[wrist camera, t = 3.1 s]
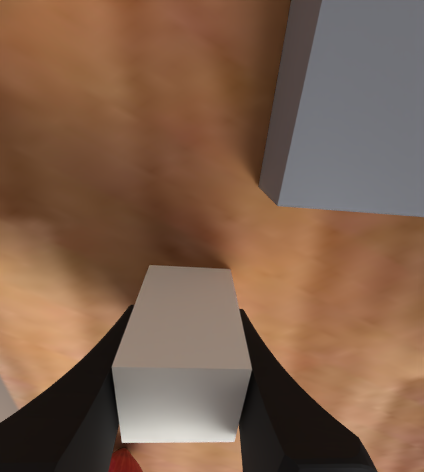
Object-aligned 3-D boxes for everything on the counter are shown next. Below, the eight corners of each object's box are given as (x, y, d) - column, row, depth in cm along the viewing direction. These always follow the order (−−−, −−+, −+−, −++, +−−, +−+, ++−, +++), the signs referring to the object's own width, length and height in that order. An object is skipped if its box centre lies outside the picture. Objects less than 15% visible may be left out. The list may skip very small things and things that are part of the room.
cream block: (230, 268, 13) (251, 369, 8) (221, 327, 15) (234, 441, 10) (149, 264, 13) (111, 367, 7) (151, 325, 15) (121, 443, 9)
